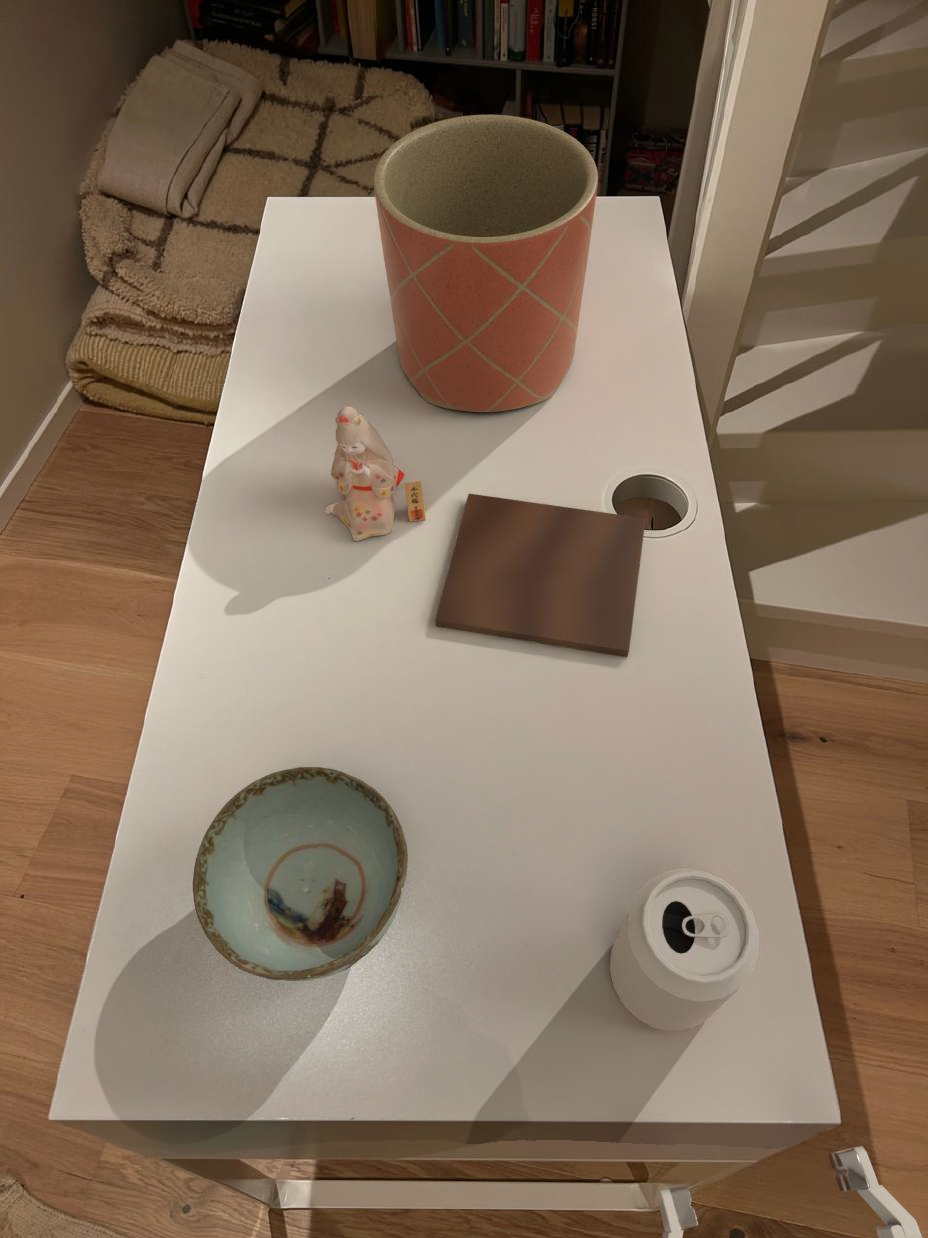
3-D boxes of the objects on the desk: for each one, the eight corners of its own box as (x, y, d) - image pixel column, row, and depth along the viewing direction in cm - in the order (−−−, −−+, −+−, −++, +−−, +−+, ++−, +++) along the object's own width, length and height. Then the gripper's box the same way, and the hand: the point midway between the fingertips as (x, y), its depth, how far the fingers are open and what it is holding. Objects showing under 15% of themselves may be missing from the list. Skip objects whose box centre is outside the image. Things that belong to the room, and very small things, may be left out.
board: (644, 525, 82) (645, 518, 82) (627, 657, 75) (629, 650, 74) (468, 500, 84) (468, 493, 84) (435, 626, 77) (435, 619, 76)
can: (605, 914, 64) (626, 857, 54) (714, 917, 63) (757, 860, 53) (611, 1032, 60) (635, 993, 49) (728, 1035, 59) (777, 997, 49)
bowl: (398, 1019, 60) (387, 993, 54) (199, 993, 61) (164, 965, 55) (428, 820, 68) (421, 776, 61) (250, 801, 69) (225, 755, 62)
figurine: (322, 544, 82) (294, 434, 73) (331, 494, 86) (306, 385, 78) (423, 541, 81) (408, 429, 72) (427, 491, 86) (413, 380, 77)
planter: (394, 302, 100) (374, 118, 83) (569, 294, 100) (585, 108, 83) (393, 429, 90) (371, 247, 73) (589, 420, 90) (612, 236, 73)
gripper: (1133, 1491, 38) (973, 1121, 46) (660, 1615, 37) (574, 1209, 44) (1055, 1459, 44) (923, 1132, 51) (638, 1566, 42) (565, 1211, 50)
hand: (758, 1168), depth 48 cm, fingers open, 8 cm apart
